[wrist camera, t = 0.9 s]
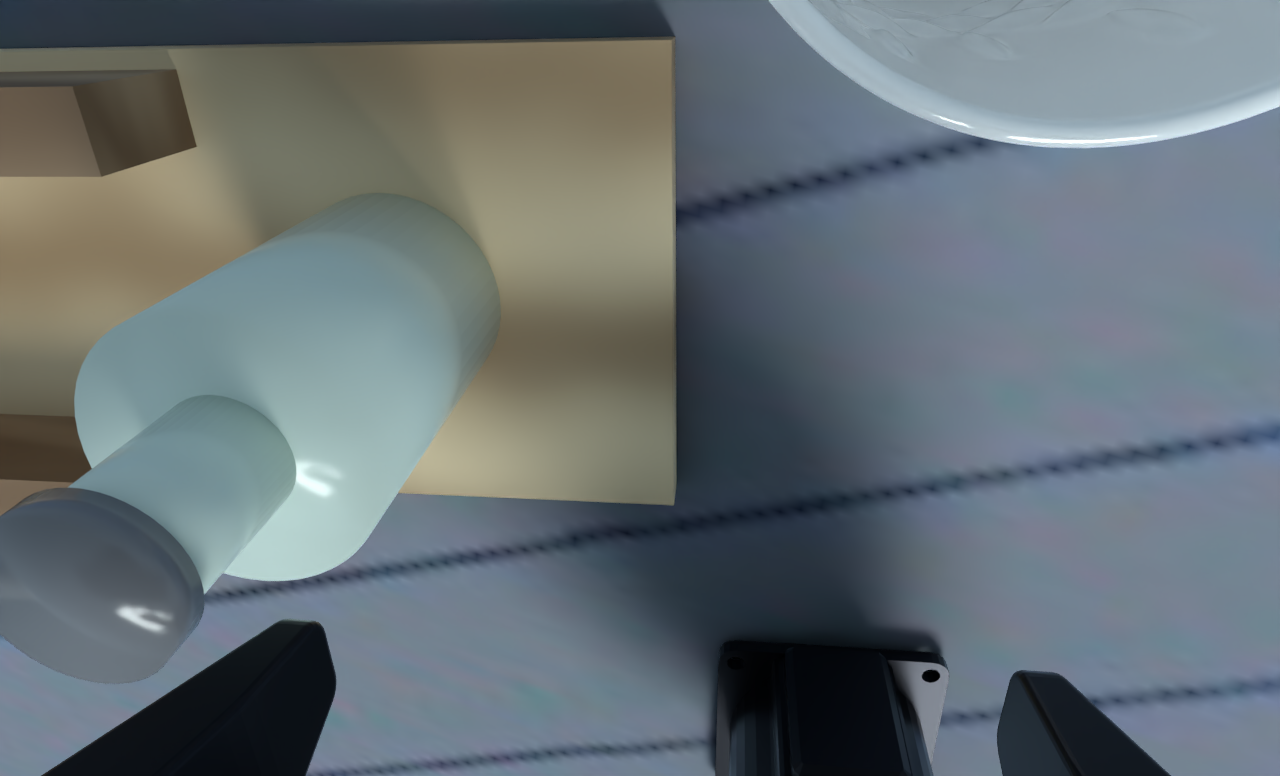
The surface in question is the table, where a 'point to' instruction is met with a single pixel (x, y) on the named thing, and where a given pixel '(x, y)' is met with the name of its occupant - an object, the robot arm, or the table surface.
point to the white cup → (1055, 63)
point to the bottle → (247, 431)
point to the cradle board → (338, 169)
